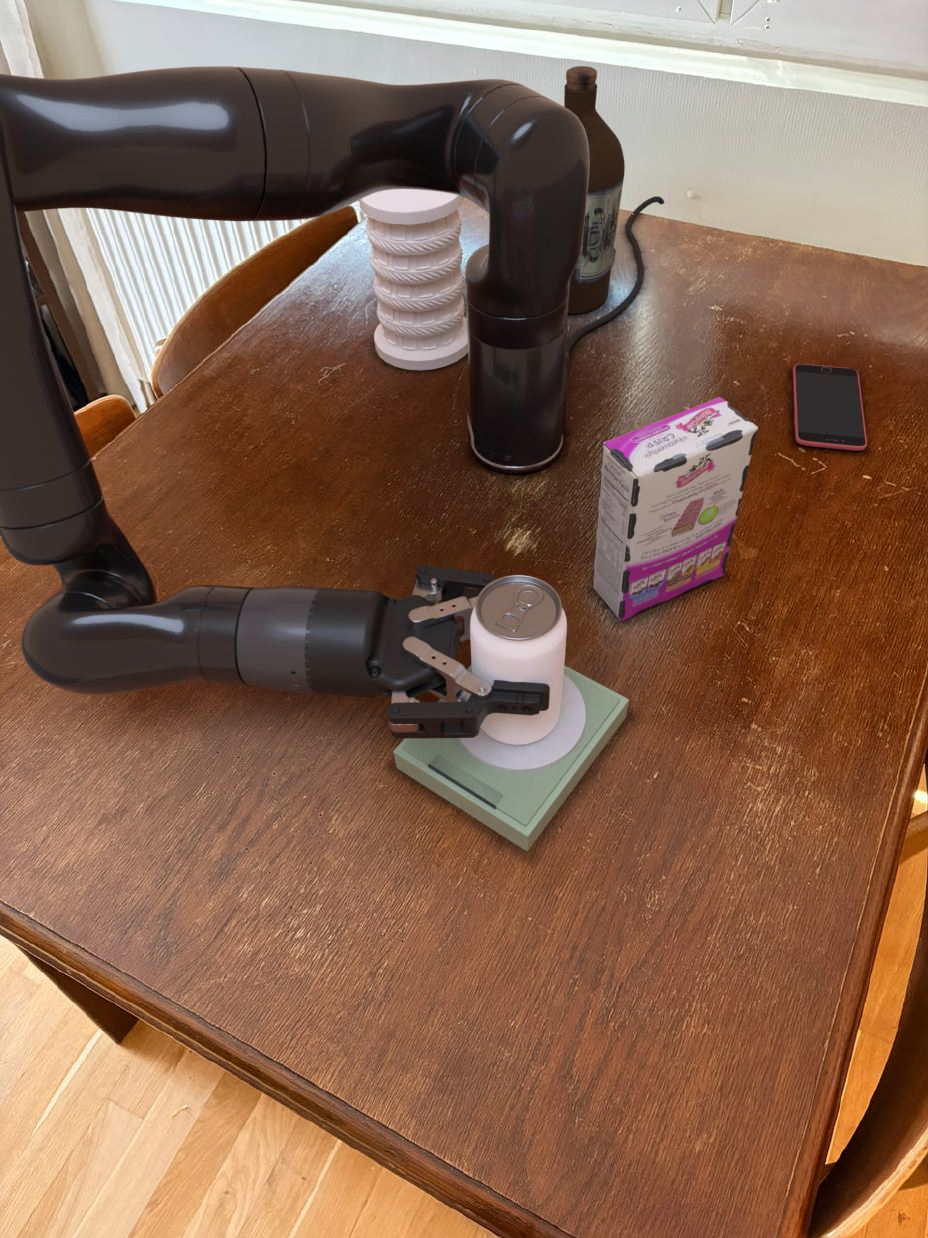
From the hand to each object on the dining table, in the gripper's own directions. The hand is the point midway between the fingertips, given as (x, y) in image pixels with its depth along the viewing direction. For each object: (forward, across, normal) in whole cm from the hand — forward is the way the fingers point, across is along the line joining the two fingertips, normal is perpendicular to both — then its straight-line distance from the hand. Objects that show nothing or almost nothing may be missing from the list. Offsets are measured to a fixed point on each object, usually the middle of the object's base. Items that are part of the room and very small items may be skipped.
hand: (551, 656), depth 62 cm
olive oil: (-1, +65, +10) cm, 66 cm away
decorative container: (-17, +54, +10) cm, 58 cm away
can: (-2, 0, +7) cm, 8 cm away
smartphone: (+27, +44, +10) cm, 52 cm away
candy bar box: (+9, +17, +10) cm, 22 cm away
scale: (-3, -1, +10) cm, 11 cm away
